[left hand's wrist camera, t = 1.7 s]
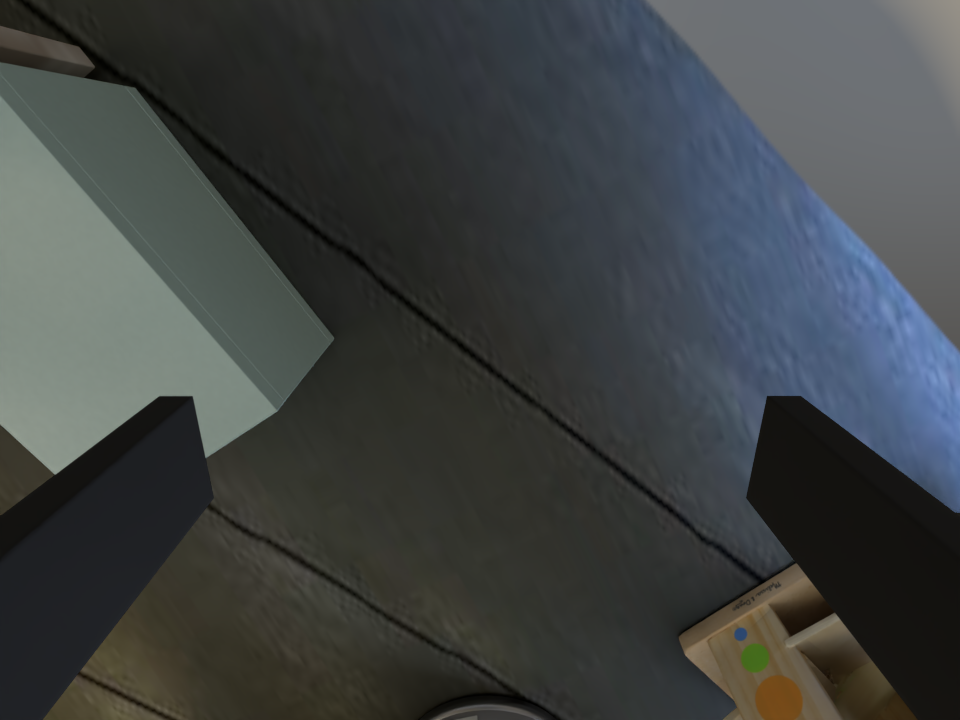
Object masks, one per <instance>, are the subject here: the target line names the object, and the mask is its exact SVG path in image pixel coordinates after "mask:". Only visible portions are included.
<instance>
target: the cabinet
mask: <svg viewBox="0 0 960 720" xmlns="http://www.w3.org/2000/svg"><path fill="white" fill-rule="evenodd" d="M333 340H334V337H333V336H332V334H331V333H330V332H329V331H328V329H327V328H326V327H325V326H324V324H323V323H322V322H321V321H320V319H319V318H318V317H317V316H316V314H315V313H314V312H313V310H312V309H311V308H310V307H309V305H308V304H307V303H306V302H305V300H304V299H303V298H302V297H301V295H300V294H299V293H298V292H297V290H296V289H295V288H294V287H293V285H292V284H291V283H290V282H289V280H288V279H287V278H286V277H285V275H284V274H283V273H282V272H281V270H280V269H279V268H278V267H277V265H276V264H275V263H274V262H273V260H272V259H271V258H270V257H269V255H268V254H267V253H266V252H265V250H264V249H263V248H262V247H261V245H260V244H259V243H258V241H257V240H256V239H255V238H254V236H253V235H252V234H251V233H250V231H249V230H248V229H247V228H246V226H245V225H244V224H243V223H242V221H241V220H240V219H239V218H238V216H237V215H236V214H235V213H234V211H233V210H232V209H231V208H230V206H229V205H228V204H227V203H226V201H225V200H224V199H223V198H222V196H221V195H220V194H219V193H218V191H217V190H216V189H215V188H214V186H213V185H212V184H211V183H210V181H209V180H208V179H207V177H206V176H205V175H204V174H203V172H202V171H201V170H200V169H199V167H198V166H197V165H196V164H195V162H194V161H193V160H192V159H191V157H190V156H189V155H188V154H187V152H186V151H185V150H184V149H183V147H182V146H181V145H180V144H179V142H178V141H177V140H176V139H175V137H174V136H173V135H172V134H171V132H170V131H169V130H168V129H167V127H166V126H165V125H164V124H163V122H162V121H161V120H160V119H159V117H158V116H157V115H156V113H155V112H154V111H153V110H152V108H151V107H150V106H149V105H148V103H147V102H146V101H145V100H144V98H143V97H142V96H141V95H140V93H139V92H138V91H137V90H136V88H134V87H128V86H123V85H118V84H112V83H107V82H102V81H97V80H92V79H86V78H81V77H76V76H71V75H65V74H60V73H55V72H50V71H44V70H39V69H34V68H29V67H23V66H18V65H13V64H8V63H2V62H0V425H1V426H2V427H4V428H5V429H6V430H7V431H8V432H9V433H10V434H11V435H12V436H13V437H14V438H16V439H17V440H18V441H19V442H20V443H21V444H22V445H23V446H24V447H25V448H26V449H28V450H29V451H30V452H31V453H32V454H33V455H34V456H35V457H36V458H37V459H38V460H40V461H41V462H42V463H43V464H44V465H45V466H46V467H47V468H48V469H49V470H50V471H52V472H53V473H54V474H55V475H56V474H57V473H58V472H60V471H61V470H62V469H63V468H65V467H66V466H67V465H69V464H70V463H71V462H73V461H74V460H75V459H77V458H78V457H79V456H81V455H82V454H83V453H85V452H86V451H87V450H89V449H90V448H91V447H93V446H94V445H95V444H97V443H98V442H99V441H101V440H102V439H103V438H104V437H106V436H107V435H108V434H110V433H111V432H112V431H114V430H115V429H116V428H118V427H119V426H120V425H122V424H123V423H124V422H126V421H127V420H128V419H130V418H131V417H132V416H134V415H135V414H136V413H138V412H139V411H140V410H142V409H143V408H144V407H146V406H147V405H148V404H149V403H151V402H152V401H153V400H155V399H156V398H157V397H159V396H193V399H194V404H195V409H196V414H197V419H198V424H199V428H200V433H201V438H202V443H203V448H204V453H205V458H207V457H208V456H210V455H211V454H213V453H214V452H216V451H217V450H219V449H220V448H222V447H223V446H225V445H226V444H228V443H230V442H231V441H233V440H234V439H236V438H237V437H239V436H240V435H242V434H243V433H245V432H246V431H248V430H249V429H251V428H253V427H254V426H256V425H257V424H259V423H260V422H262V421H263V420H265V419H266V418H268V417H269V416H271V415H272V414H274V413H275V412H277V411H278V410H279V409H280V407H281V406H282V405H283V403H284V402H285V401H286V399H287V398H288V397H289V396H290V394H291V393H292V392H293V391H294V389H295V388H296V387H297V385H298V384H299V383H300V382H301V380H302V379H303V378H304V377H305V375H306V374H307V373H308V372H309V370H310V369H311V368H312V366H313V365H314V364H315V363H316V361H317V360H318V359H319V358H320V356H321V355H322V354H323V353H324V351H325V350H326V349H327V347H328V346H329V345H330V344H331V342H332V341H333Z"/></svg>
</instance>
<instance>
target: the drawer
mask: <svg viewBox="0 0 960 720" xmlns="http://www.w3.org/2000/svg"><path fill="white" fill-rule="evenodd" d="M0 62H2V63H8V64H13V65H18V66H23V67H29V68H34V69H39V70H44V71H50V72H55V73H60V74H65V75H71V76H76V77H81V78H84V77H85V76H86V75H87V74H89V73H90V72H91V71H92V70H93V69H94V68H95V66H94V65H93V64H92V62H91V61H90V60H89V59H88V57H87V56H86V55H85V54H84V52H83V51H82V50H81V49H80V48H79V47H78V46H74V45H70V44H66V43H63V42H59V41H55V40H51V39H48V38H44V37H40V36H36V35H33V34H29V33H25V32H21V31H18V30H14V29H10V28H6V27H3V26H0Z"/></svg>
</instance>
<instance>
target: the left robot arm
mask: <svg viewBox="0 0 960 720" xmlns="http://www.w3.org/2000/svg"><path fill="white" fill-rule="evenodd" d="M213 498H214V496H213V491H212V487H211V482H210V477H209V472H208V467H207V462H206V458H205V453H204V448H203V443H202V438H201V433H200V428H199V424H198V419H197V414H196V409H195V404H194V399H193V396H159V397H157V398H156V399H155V400H153V401H152V402H151V403H149V404H148V405H147V406H146V407H144V408H143V409H142V410H140V411H139V412H138V413H136V414H135V415H134V416H132V417H131V418H130V419H128V420H127V421H126V422H124V423H123V424H122V425H120V426H119V427H118V428H116V429H115V430H114V431H112V432H111V433H110V434H108V435H107V436H106V437H104V438H103V439H102V440H101V441H99V442H98V443H97V444H95V445H94V446H93V447H91V448H90V449H89V450H87V451H86V452H85V453H83V454H82V455H81V456H79V457H78V458H77V459H75V460H74V461H73V462H71V463H70V464H69V465H67V466H66V467H65V468H63V469H62V470H61V471H60V472H58V473H57V474H56V475H54V476H53V477H52V478H50V479H49V480H48V481H46V482H45V483H44V484H42V485H41V486H40V487H38V488H37V489H36V490H34V491H33V492H32V493H30V494H29V495H28V496H26V497H25V498H24V499H22V500H21V501H20V502H18V503H17V504H16V505H15V506H13V507H12V508H11V509H9V510H8V511H7V512H5V513H4V514H3V515H0V720H43V718H44V717H45V716H46V714H47V713H48V712H49V711H50V709H51V708H52V707H53V705H54V704H55V703H56V701H57V700H58V699H59V698H60V696H61V695H62V694H63V692H64V691H65V690H66V689H67V687H68V686H69V685H70V683H71V682H72V681H73V679H74V678H75V677H76V676H77V674H78V673H79V672H80V670H81V669H82V668H83V667H84V665H85V664H86V663H87V661H88V660H89V659H90V657H91V656H92V655H93V654H94V652H95V651H96V650H97V648H98V647H99V646H100V645H101V643H102V642H103V641H104V639H105V638H106V637H107V635H108V634H109V633H110V632H111V630H112V629H113V628H114V626H115V625H116V624H117V623H118V621H119V620H120V619H121V617H122V616H123V615H124V614H125V612H126V611H127V610H128V608H129V607H130V606H131V604H132V603H133V602H134V601H135V599H136V598H137V597H138V595H139V594H140V593H141V592H142V590H143V589H144V588H145V586H146V585H147V584H148V582H149V581H150V580H151V579H152V577H153V576H154V575H155V573H156V572H157V571H158V570H159V568H160V567H161V566H162V564H163V563H164V562H165V560H166V559H167V558H168V557H169V555H170V554H171V553H172V551H173V550H174V549H175V548H176V546H177V545H178V544H179V542H180V541H181V540H182V538H183V537H184V536H185V535H186V533H187V532H188V531H189V529H190V528H191V527H192V526H193V524H194V523H195V522H196V520H197V519H198V518H199V517H200V515H201V514H202V513H203V511H204V510H205V509H206V507H207V506H208V505H209V504H210V502H211V501H212V500H213ZM746 498H747V500H748V501H749V502H750V504H751V505H752V506H753V507H754V509H755V510H756V511H757V513H758V514H759V515H760V517H761V518H762V519H763V520H764V522H765V523H766V524H767V526H768V527H769V528H770V529H771V531H772V532H773V533H774V535H775V536H776V537H777V538H778V540H779V541H780V542H781V544H782V545H783V546H784V548H785V549H786V550H787V551H788V553H789V554H790V555H791V557H792V558H793V559H794V560H795V562H796V563H797V564H798V566H799V567H800V568H801V570H802V571H803V572H804V573H805V575H806V576H807V577H808V579H809V580H810V581H811V582H812V584H813V585H814V586H815V588H816V589H817V590H818V592H819V593H820V594H821V595H822V597H823V598H824V599H825V601H826V602H827V603H828V604H829V606H830V607H831V608H832V610H833V611H834V612H835V614H836V615H837V616H838V617H839V619H840V620H841V621H842V623H843V624H844V625H845V626H846V628H847V629H848V630H849V632H850V633H851V634H852V635H853V637H854V638H855V639H856V641H857V642H858V643H859V645H860V646H861V647H862V648H863V650H864V651H865V652H866V654H867V655H868V656H869V657H870V659H871V660H872V661H873V663H874V664H875V665H876V667H877V668H878V669H879V670H880V672H881V673H882V674H883V676H884V677H885V678H886V679H887V681H888V682H889V683H890V685H891V686H892V687H893V689H894V690H895V691H896V692H897V694H898V695H899V696H900V698H901V699H902V700H903V701H904V703H905V704H906V705H907V707H908V708H909V709H910V711H911V712H912V713H913V714H914V716H915V717H916V718H917V720H960V513H955V512H953V511H952V510H951V509H949V508H948V507H947V506H945V505H944V504H943V503H942V502H940V501H939V500H938V499H936V498H935V497H934V496H932V495H931V494H930V493H928V492H927V491H926V490H924V489H923V488H922V487H920V486H919V485H918V484H916V483H915V482H914V481H912V480H911V479H910V478H908V477H907V476H906V475H904V474H903V473H902V472H900V471H899V470H898V469H897V468H895V467H894V466H893V465H891V464H890V463H889V462H887V461H886V460H885V459H883V458H882V457H881V456H879V455H878V454H877V453H875V452H874V451H873V450H871V449H870V448H869V447H867V446H866V445H865V444H863V443H862V442H861V441H859V440H858V439H857V438H856V437H854V436H853V435H852V434H850V433H849V432H848V431H846V430H845V429H844V428H842V427H841V426H840V425H838V424H837V423H836V422H834V421H833V420H832V419H830V418H829V417H828V416H826V415H825V414H824V413H822V412H821V411H820V410H818V409H817V408H816V407H814V406H813V405H812V404H811V403H809V402H808V401H807V400H805V399H804V398H803V397H801V396H767V399H766V404H765V409H764V414H763V419H762V424H761V428H760V433H759V438H758V443H757V448H756V453H755V458H754V462H753V467H752V472H751V477H750V482H749V487H748V491H747V496H746ZM419 720H556V719H555V718H554V717H553V716H552V715H550V714H549V713H548V712H546V711H545V710H543V709H541V708H539V707H537V706H535V705H533V704H531V703H528V702H525V701H522V700H519V699H514V698H510V697H503V696H473V697H466V698H461V699H457V700H454V701H450V702H448V703H445V704H443V705H440V706H438V707H436V708H434V709H433V710H431V711H430V712H428V713H427V714H425V715H424V716H423V717H422V718H420V719H419Z"/></svg>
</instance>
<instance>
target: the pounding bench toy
mask: <svg viewBox="0 0 960 720" xmlns="http://www.w3.org/2000/svg"><path fill="white" fill-rule="evenodd" d="M679 641H680V644H681V646H682V649H683V651H684V654H685V655H686V656H687V657H688V658H689V659H690V660H691V661H692V662H693V663H694V664H695V665H696V666H697V667H698V668H699V669H700V670H702V671H703V672H704V673H705V674H706V675H707V676H708V677H709V678H710V679H711V680H712V681H713V682H715V683H716V684H717V685H718V686H719V687H720V688H721V689H722V690H723V691H724V692H726V693H727V694H728V695H729V696H730V697H731V698H732V699H733V700H734V702H735V704H736V706H737V708H736V709H735V710H733V711H732V712H731V713H730V714H729V715H727V716H726V717H725V718H724V719H723V720H917V718H916V717H915V716H914V714H913V713H912V712H911V711H910V709H909V708H908V707H907V705H906V704H905V703H904V701H903V700H902V699H901V698H900V696H899V695H898V694H897V692H896V691H895V690H894V689H893V687H892V686H891V685H890V683H889V682H888V681H887V679H886V678H885V677H884V676H883V674H882V673H881V672H880V670H879V669H878V668H877V667H876V665H875V664H874V663H873V661H872V660H871V659H870V657H869V656H868V655H867V654H866V652H865V651H864V650H863V648H862V647H861V646H860V645H859V643H858V642H857V641H856V639H855V638H854V637H853V635H852V634H851V633H850V632H849V630H848V629H847V628H846V626H845V625H844V624H843V623H842V621H841V620H840V619H839V617H838V616H837V615H836V614H835V612H834V611H833V610H832V608H831V607H830V606H829V604H828V603H827V602H826V601H825V599H824V598H823V597H822V595H821V594H820V593H819V592H818V590H817V589H816V588H815V586H814V585H813V584H812V582H811V581H810V580H809V579H808V577H807V576H806V575H805V573H804V572H803V571H802V570H801V568H800V567H799V566H798V564H797V563H796V564H794V565H792V566H791V567H789V568H787V569H786V570H784V571H782V572H781V573H779V574H778V575H776V576H774V577H773V578H771V579H769V580H768V581H766V582H764V583H763V584H761V585H760V586H758V587H756V588H755V589H753V590H751V591H750V592H748V593H747V594H745V595H743V596H742V597H740V598H739V599H737V600H735V601H734V602H732V603H730V604H729V605H727V606H725V607H724V608H722V609H721V610H719V611H717V612H716V613H714V614H712V615H711V616H709V617H708V618H706V619H705V620H703V621H702V622H700V623H698V624H696V625H695V626H693V627H692V628H690V629H688V630H687V631H685V632H684V633H682V634H681V635H680V636H679Z"/></svg>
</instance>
